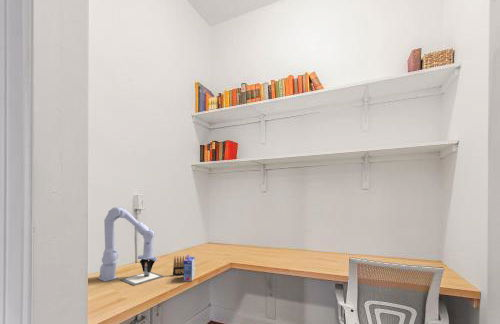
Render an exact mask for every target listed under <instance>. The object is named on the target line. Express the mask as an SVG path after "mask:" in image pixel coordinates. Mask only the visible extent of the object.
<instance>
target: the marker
mask: <svg viewBox="0 0 500 324" xmlns="http://www.w3.org/2000/svg"><path fill="white" fill-rule="evenodd" d="M147 269H148V267H147V262H145V268H144V272H143V273H144V276H149V274H150V272H148V271H147Z"/></svg>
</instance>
